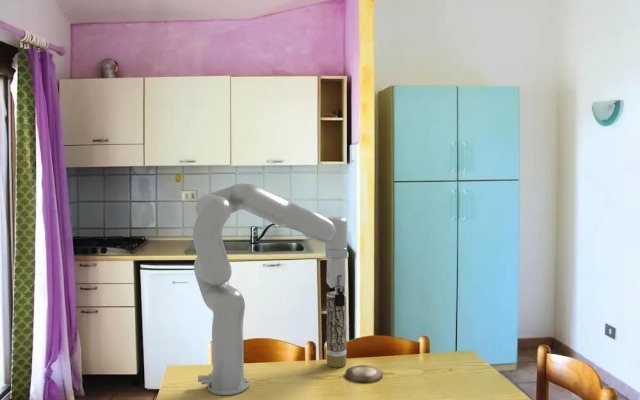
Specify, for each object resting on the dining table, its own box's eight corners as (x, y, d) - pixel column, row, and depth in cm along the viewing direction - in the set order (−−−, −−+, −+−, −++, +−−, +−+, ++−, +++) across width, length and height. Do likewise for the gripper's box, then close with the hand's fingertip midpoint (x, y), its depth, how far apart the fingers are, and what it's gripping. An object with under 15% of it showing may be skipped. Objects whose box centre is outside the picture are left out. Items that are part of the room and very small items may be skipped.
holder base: (350, 384, 168) (350, 380, 167) (342, 370, 179) (342, 366, 179) (387, 381, 170) (387, 377, 170) (376, 367, 181) (376, 363, 181)
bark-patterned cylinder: (344, 369, 180) (344, 296, 178) (325, 367, 181) (324, 295, 180) (347, 361, 187) (347, 291, 185) (328, 360, 188) (328, 290, 186)
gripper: (321, 249, 189) (321, 297, 191) (330, 258, 172) (331, 309, 174) (341, 248, 191) (341, 295, 192) (353, 257, 174) (353, 308, 175)
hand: (336, 302), depth 183 cm, fingers open, 9 cm apart
